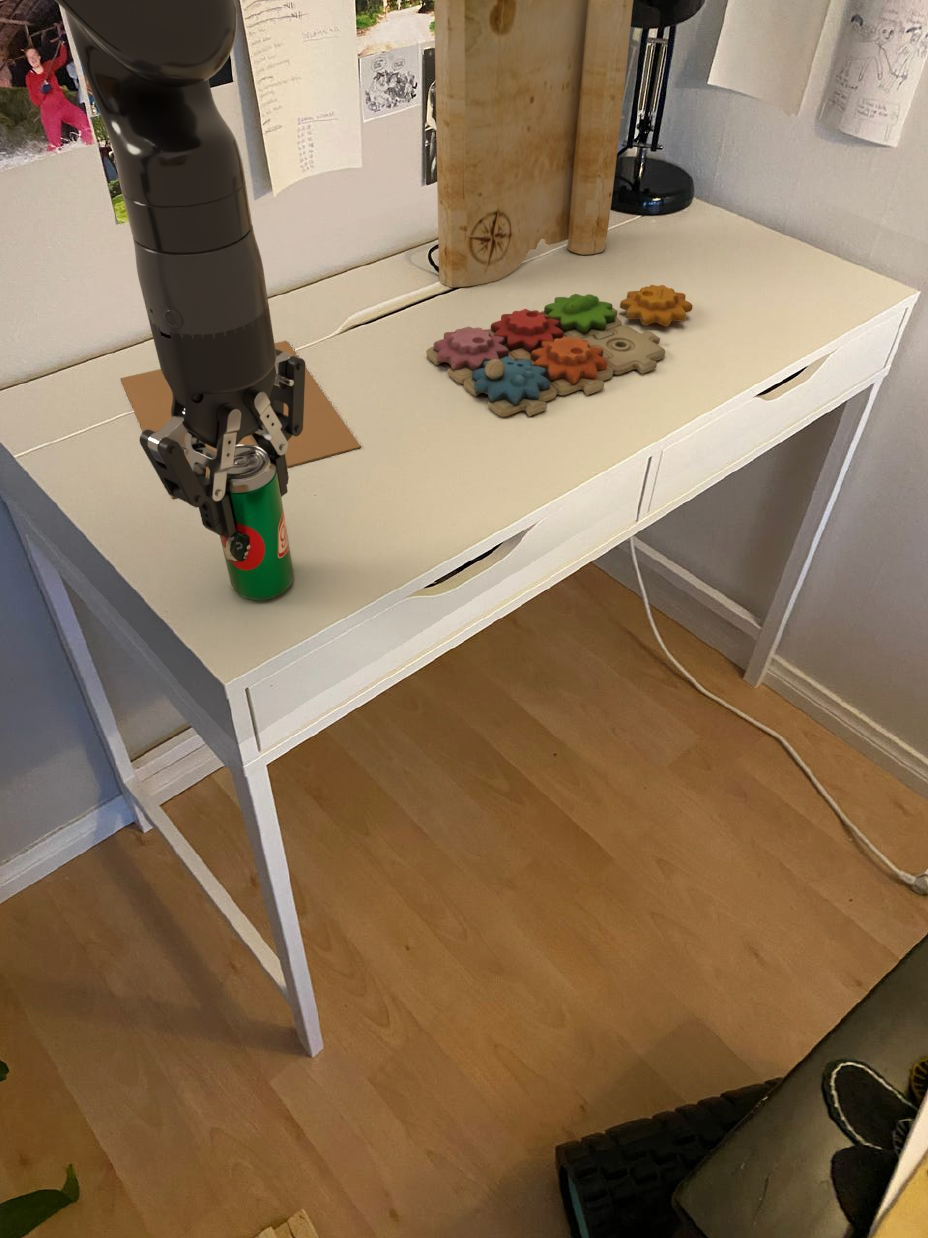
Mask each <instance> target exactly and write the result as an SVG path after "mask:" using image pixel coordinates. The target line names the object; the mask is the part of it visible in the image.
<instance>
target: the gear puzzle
mask: <svg viewBox="0 0 928 1238" xmlns="http://www.w3.org/2000/svg"><path fill="white" fill-rule="evenodd" d="M693 306H694V305H693V304H692V302H690V301H687V300H686V293H683V292H676V291H675V289H674V288H672V287H667V286H666V285H663V284H661V285H655V284H650V285H649V286H643V287H641V288H640V289H639V290H631V291H627V294H626V298H624V299H622V300H621V301H620V303H619V309H621V310H624V311H626V312H625V319H631V320H632V319H633V320H634V319H639V321H640V324H641V325H643V326H648V325H651V324H653V323H657V324H659V325H661V326H664V327H669V325H670V324H671V322H672V321H678V322H684V321H686V320H687V313H690V312H691V311H692V310H693ZM617 316H618V310H617V309H615V308H614V307H613V304H612V303H610V302H607V301H600V299H599V297H598V296H597V295H593V294H591V293H588V294H585V295H581V294H577V293H574V294H572V295H570V296H569V297H566V296H557V297H554V302H551V303H547V304H546V305H544V309H543V311H540V312H539V310H537V309H535V310H529V309H527V308H524V309H521V310H514V311H513V312H512V313H503V314H501V316H500V320H497V321H495V322H492V323H491V324H490V328H488V329H487V328H486V329H483V328H482V327H471V326H466V327H463V328H457V329H455V331H446V332H444V333H443V338H441V339H439V340H437V341H435V342H433V344H432V345H433V346H431V347H429V348H427V349H426V354H425V355H426V358H427V359H428V360H430V361H431V362H432V363H433V364H434V365H436V366H439V365H441V364H442V363H447V364H448V365H450V368H448V369H447V375H448V376H449V378H451V379H453V381H455V382H456V383H458V384H462V385H463V387H464V389H465V390H467V392H468V393H470V394H471V395H473V396H475V397H477V396H478V395H480V394H486V395H488V399H489V400H487V407H488V409H490V410H491V411H492V412H493V413H494V414H496V415H497V416H498V417H508V416H511V415H513V414H516V413H519V412H521V411H525V413H526V415H527V416H528V417H529V416H534V415H536V414H537V415H538V414H540V413H541V412H544V411H546V410H547V408H548V403H547V402H548V401H552V400H553V399H554V400H555V398H556V397H557V395H559V396H565V395H568V394H571V393H575V392H577V391H580V390H581V391H583V393H584V394H585V395H586V396H587V395H588V396H589V395H591V394H594V393H596V392H599V391H603V389H604V387H605V382H604V381H606V380H609V379H612V378H613V375H622V374H625V373H627V372H629V371H632V370H637V371H638V373H640V374H646V373H648V372H651V371H653V370H656V369H657V366H658V361H660V360H662V359H663V358H665V356H666V350H665V348H663V347H662V346H661V345H659V344H660V343H661V342H660V341H661V338H660V337H659V336H658V335H656V334H654V333H653V332H651V330H645V331H643V332H642V333H641V332H638V331H637V330H635V329H634V328H633V327H631V326H629V325H627V324H622V320H621V319H619V318H617Z"/></svg>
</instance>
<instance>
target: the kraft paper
mask: <svg viewBox="0 0 928 1238" xmlns="http://www.w3.org/2000/svg"><path fill="white" fill-rule="evenodd" d="M274 344H275V349H278V350H280V351H283V352H286V353H288V354H291V355H293V356H296V357H298V358H300V357H299V356H298V354H297V352H295V351H294V349H293V347H292V346H291V344H290V343H289V342H288V340H282V341H278V342H274ZM120 382H121V384H122V386H123V389H124V391H125V394H126V396H127V398H128V400H129V403H130V405H131V407H132V409H133V412H134V414H135V416H136V418H137V421H138V423H139V426H140V427H141V430H142V432H143V431H145V430H147V429H150V430H152V431H154V432H158V431H159V430H160V429H161V428H162V427H163V426H164V425H165V424H166V423H167V422H168V421H169V420H170V419H171V418H172V416H171V407H172V401H173V394H172V390H171V388H170V386H169V384H168V383H167V381H166V379H165V377H164V375H163V373H162V371H161V368H159V369H155V370H151V371H146V372H141V373H136V374H133V375H127V376H124V377H120ZM284 414H285V415H287V416H288V406H287V404H285V403H284ZM184 442H185V446H186V435H185V438H184ZM238 444H249V445H255V446H258V445H256V444H254V442H253V441H252V439H251V438H250V436H246V437H244V438H243V439H242V440H241V441H240V442H239V443H238ZM238 444H237V445H238ZM205 446H206V447H207V448H208V449H210V450H212V451H215V452H217V449H216V448H213V447H211V446H209V445H207V444H205ZM258 447H259V446H258ZM361 448H362V447H361V444H360V443H359V442H358V441H357V439H356V437H355V436H354V434H353V433H352V431H351V430H350V429H349V427H348V426H347V424H346V423H345V422H344V419H342V417H341V416H340V414H339V413H338V412H337V410H336V409H335V407H334V405H332V403H331V401H330V400H329V399H328V397H327V396H326V395H325V392H324V391H323V390H322V389H321V387H320V385H318V383H317V382H316V380H315V379H314V378H313V376H312V375H311V373H310V371H309V370H308V369H307V367H306V366H305V390H304V417H303V430H302V432H301V434H300V435H299V436H297V437H296V436H293V435H292V437H291V438H290V439H289V440H288V449H287V451H286V453H285V457H286V463H287V469H289V468H291V467H295V466H299V465H303V464H306V463H310V462H313V461H317V460H322V459H325V458H329V457H332V456H336V455H340V454H343V453H347V452H351V451H355V450H358V449H359V450H360V449H361ZM186 458H187V456H186ZM187 460H188V462H189V459H188V458H187ZM189 463H190V462H189ZM208 470H209V468H208V467H206V477H207V473H208ZM170 496H171V495H170ZM170 498H171V499H173V500H174V499H176V497H173V496H171V497H170Z"/></svg>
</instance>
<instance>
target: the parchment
mask: <svg viewBox="0 0 928 1238" xmlns="http://www.w3.org/2000/svg"><path fill="white" fill-rule="evenodd" d="M433 3H434V4H433V5H434V63H435V64H434V68H435V71H434V72H435V74H434V75H435V114H436V115H435V123H436V124H435V125H436V126H435V127H436V129H435V130H436V181H437V182H436V184H437V189H436V190H437V237H438V241H437V243H438V277H439V280H440V284H442V285H445V286H447V287H449V288H451V289H452V288H463V287H470V286H471V287H472V286H478V285H484V284H487V283H491V282H495V281H498V280H501V279H503V278H504V277H507V276H508V275H510V274H512V273H513V272H514V271H516V269H517V268H518V267H519V266H521V264H522V263H523V262H524V261H525V259H526V256H527V255H528V254H529V252H530V251H534V250H536V249H537V247H538V245H539V243H540V242H541V241H542V240H544V243H545V244H546V245H548V246H551V245H555V244H559V243H562V242H565V241H567V247H566V249H567V250H569V251H570V252H571V253H574V254H577V255H593V254H594V255H595V254H598V253H603V252H604V250H605V249H606V247H607V239H608V232H609V231H608V230H609V224H610V217H611V216H610V215H611V208H612V200H613V192H614V183H615V175H616V166H617V158H618V149H619V139H620V131H621V121H622V113H623V103H624V95H625V85H626V77H627V67H628V59H629V58H628V57H629V47H630V36H631V27H632V26H631V25H632V15H633V6H634V0H434V2H433Z"/></svg>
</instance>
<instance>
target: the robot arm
mask: <svg viewBox="0 0 928 1238" xmlns="http://www.w3.org/2000/svg"><path fill="white" fill-rule="evenodd" d="M54 1H55V2H56V3H57V4H58V5H59V6H60V7H61V8H62V9H63V10H64V14H65V17H66V21H67V24H68V28H69V31H70V34H71V38H72V41H73V43H74V47H75V50H76V52H77V55H78V58H79V61H80V64H81V67H82V70H83V73H84V75H85V78H86V81H87V84H88V86H89V90H90V92H91V95H92V97H93V100H94V103H95V105H96V108H97V110H98V112H99V116H100V118H101V120H102V123H103V126H104V128H105V130H106V133H107V136H108V138H109V142H110V145H111V148H112V151H113V152H112V153H113V155H114V160H115V164H116V170H117V177H118V182H119V186H120V190H121V195H122V199H123V203H124V207H125V211H126V215H127V219H128V223H129V224H128V225H129V228H130V232H131V236H132V240H133V245H134V253H135V265H136V272H137V277H138V281H139V287H140V290H141V294H142V298H143V303H144V307H145V311H146V314H147V319H148V322H149V327H150V331H151V335H152V339H153V343H154V347H155V351H156V356H157V359H158V363H159V367H160V369H161V371H162V373H163V375H164V377H165V379H166V381H167V383H168V384H169V386H170V388H171V390H172V394H173V401H172V407H171V416H172V418H171V419H170V420H169V421H168V422H167V423H166V424H165V425H164V426H163V427H162V428H161V429H160V430H159V431H158V432H154V431H152V430H150V429H147V430H145V431H143V430H142V432H141V434H140V436H139V445H140V446H141V448H142V449H143V451H144V453H145V455H146V456H147V458H148V461H149V462H150V464H151V465H152V467H153V469H154V471H155V473H156V474H157V476H158V478H159V480H160V482H161V483H162V485H163V487H164V488H165V490H166V492H167V494H168V495H169V496H173V497H176V498H177V499H179V500H181V501H183V502H185V503H187V504H189V505H190V506H192V507H194V508H196V509H197V508H198V510H199V515H200V518H201V524H202V525H203V527H204V528H205V529H206V530H209V531H210V532H213V533H215V534H216V535H219V536H220V535H222V536H223V537H226V538H229V537H230V536H231V535H232V534H234V533H235V532H236V529H235V525H234V520H233V515H232V511H231V506H230V501H229V496H228V495H227V494H225V489H226V478H227V471H228V469H231V468H232V467H233V464H234V454H235V446H236V445H237V444H238V443H239V442H240V441H241V440H242V439H243V438H244V437H246V436H250V438H251V439H252V441H253V442H254V444H256V445H258V446H259V447H260V448H262V449H264V450H265V451H266V452H267V453H268V455H269V457H270V459H271V460H272V461H273V462H274V464H275V465H276V468H277V473H278V480H279V486H280V492H281V498H282V497H284V496H285V495H286V494H287V493H288V492H289V491H288V484H289V478H290V477H289V472H288V471H289V469H288V468H287V463H286V457H285V453H286V451H287V449H288V440H289V439H290V438H291V437H292V435H293V436H296V437H297V436H299V435H300V434H301V432H302V430H303V417H304V390H305V367H306V361H305V360H304V359H303V358H301V357H299V356H298V357H299V358H298V357H296V356H293V355H291V354H288V353H286V352H283V351H280V350H278V349H275V344H274V343H275V339H274V338H275V337H274V332H273V325H272V317H271V312H270V304H269V299H268V292H267V291H268V290H267V284H266V277H265V272H264V265H263V260H262V255H261V252H260V249H259V245H258V242H257V237H256V235H255V231H254V226H253V221H252V215H251V208H250V202H249V201H250V200H249V196H248V188H247V182H246V175H245V174H246V173H245V169H244V163H243V158H242V155H241V150H240V148H239V144H238V141H237V139H236V137H235V134H234V133H233V131H232V130H231V128H230V126H229V125H228V123H227V121H226V120H225V119H224V117H223V116H222V114H221V112H220V111H219V109H218V107H217V105H216V103H215V98H214V97H213V93H212V89H211V84H210V80H209V79H210V78H212V77H213V76H215V75H216V74H217V73H218V72H219V71H220V70H221V69H222V68H223V66H224V65H225V63H226V62H227V61H228V59H229V57H230V55H231V53H232V50H233V48H234V45H235V42H236V37H237V32H238V31H237V30H238V9H237V2H236V0H54ZM284 403H285V404H287V406H288V416H287V415H285V414H284ZM185 435H186V446H185V442H184V438H185ZM205 444H207V445H209V446H211V447H213V448H216V449H217V452H215V451H212V450H210V449H208V448H207V447H206V446H205ZM186 456H187V458H188V459H189V462H190V463H189V462H188V460H187V458H186ZM206 467H208V468H209V470H210V476H209V478H207V477H206ZM176 498H175V499H176Z"/></svg>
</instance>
